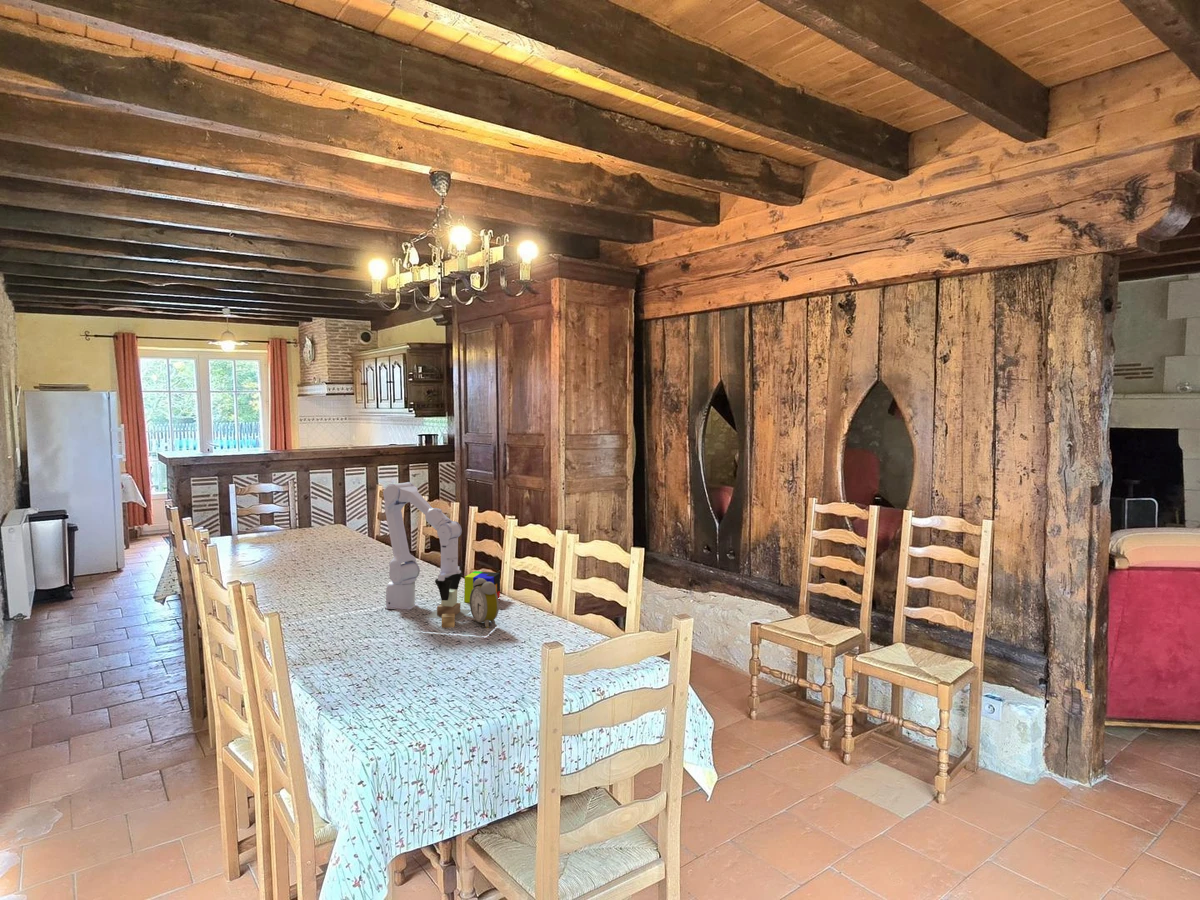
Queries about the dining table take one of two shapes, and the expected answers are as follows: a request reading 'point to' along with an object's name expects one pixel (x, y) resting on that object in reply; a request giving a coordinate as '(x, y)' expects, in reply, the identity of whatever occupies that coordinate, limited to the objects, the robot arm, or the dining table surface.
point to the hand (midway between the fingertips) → (448, 597)
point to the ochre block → (448, 620)
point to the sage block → (450, 599)
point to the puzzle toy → (487, 576)
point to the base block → (448, 609)
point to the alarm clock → (484, 601)
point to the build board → (457, 617)
